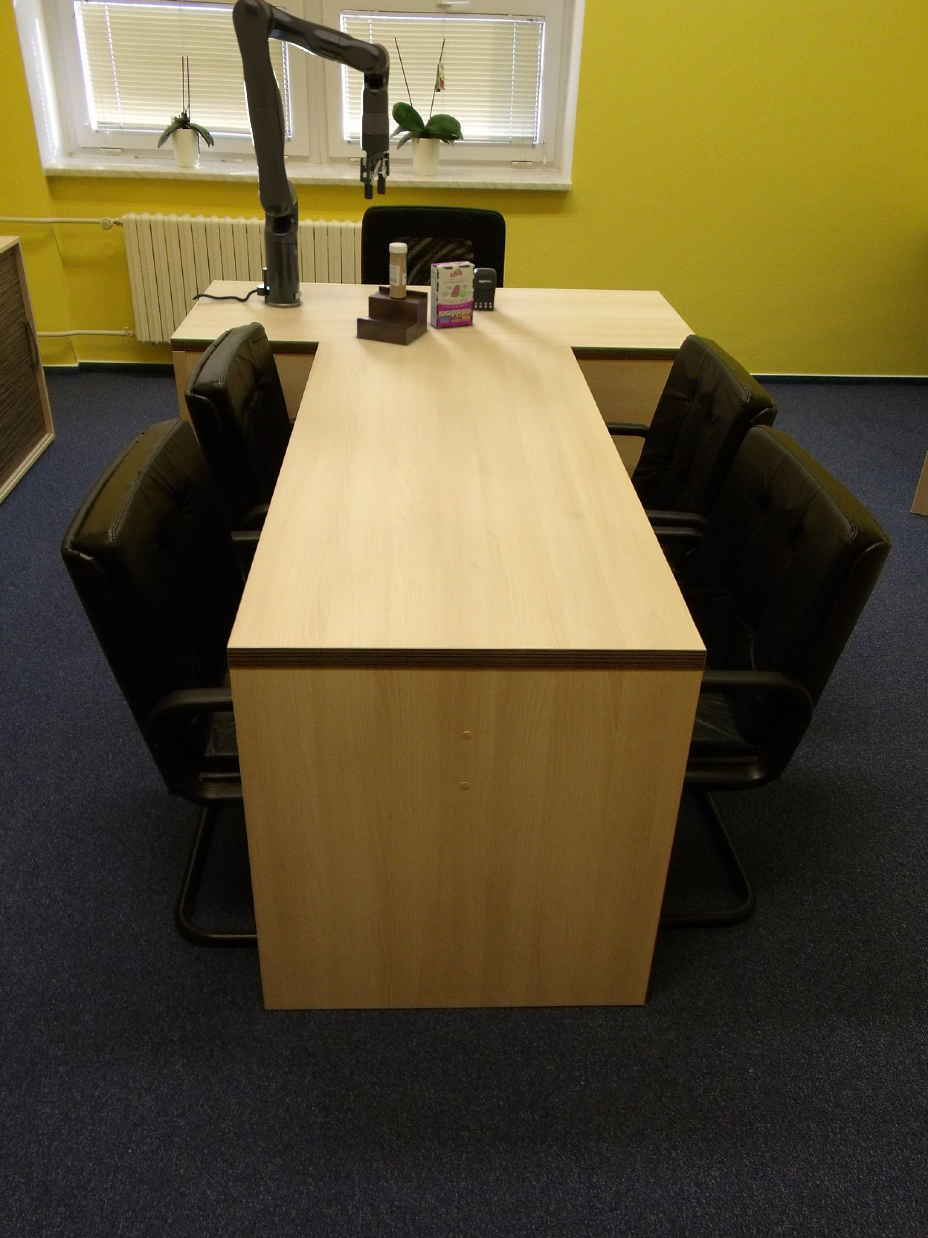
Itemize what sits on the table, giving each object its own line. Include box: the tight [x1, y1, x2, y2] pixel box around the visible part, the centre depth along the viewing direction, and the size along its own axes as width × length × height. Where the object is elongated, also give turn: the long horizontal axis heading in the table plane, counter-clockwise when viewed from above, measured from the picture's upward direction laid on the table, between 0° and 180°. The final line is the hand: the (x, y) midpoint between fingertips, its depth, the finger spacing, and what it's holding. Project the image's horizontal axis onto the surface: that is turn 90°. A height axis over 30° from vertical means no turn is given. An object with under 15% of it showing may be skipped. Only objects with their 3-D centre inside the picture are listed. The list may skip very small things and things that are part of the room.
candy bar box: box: [429, 260, 476, 330], centre depth 275 cm, size 11×5×16 cm, turn 115°
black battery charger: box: [473, 267, 498, 311], centre depth 291 cm, size 7×4×11 cm, turn 95°
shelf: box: [356, 285, 429, 346], centre depth 267 cm, size 14×15×10 cm
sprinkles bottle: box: [388, 242, 408, 299], centre depth 265 cm, size 5×5×14 cm
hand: (375, 196), depth 274 cm, fingers open, 8 cm apart
